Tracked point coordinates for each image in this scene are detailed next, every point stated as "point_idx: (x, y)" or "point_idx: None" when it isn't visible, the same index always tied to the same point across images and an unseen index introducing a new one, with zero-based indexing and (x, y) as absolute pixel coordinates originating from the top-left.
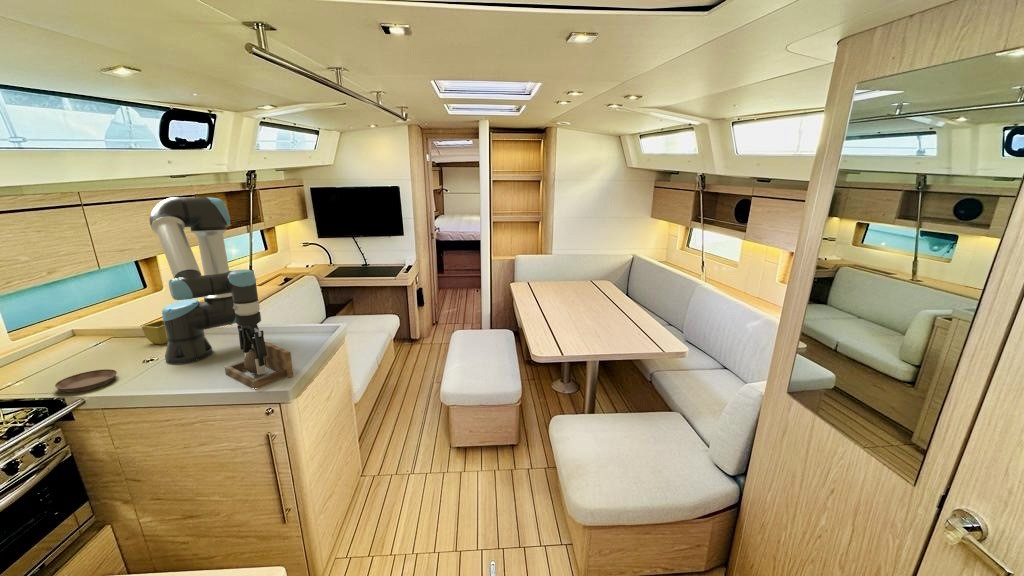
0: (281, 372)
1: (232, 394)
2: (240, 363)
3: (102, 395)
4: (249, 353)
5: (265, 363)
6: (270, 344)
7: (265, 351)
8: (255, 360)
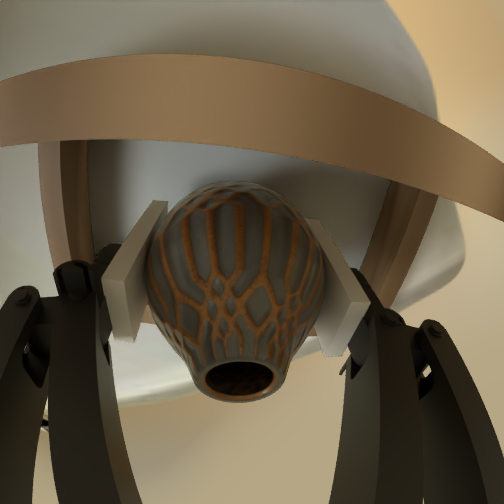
0: (430, 206)
1: (306, 354)
2: (67, 245)
3: (47, 408)
4: (243, 386)
5: (305, 219)
6: (220, 74)
7: (456, 364)
8: (323, 339)
